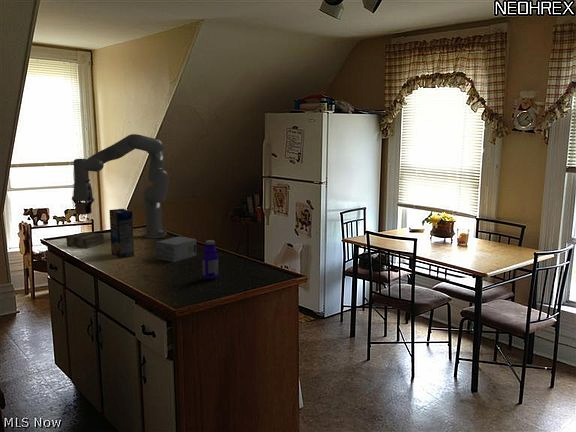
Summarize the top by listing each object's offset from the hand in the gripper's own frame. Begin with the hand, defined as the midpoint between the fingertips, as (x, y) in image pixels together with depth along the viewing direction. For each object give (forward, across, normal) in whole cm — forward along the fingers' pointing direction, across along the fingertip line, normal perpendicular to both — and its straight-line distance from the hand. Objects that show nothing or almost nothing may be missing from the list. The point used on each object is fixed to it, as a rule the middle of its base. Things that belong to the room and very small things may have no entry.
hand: (83, 212), depth 296 cm
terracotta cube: (+1, 0, 0) cm, 1 cm away
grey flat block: (+19, 0, 0) cm, 19 cm away
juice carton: (+19, -35, +11) cm, 41 cm away
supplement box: (+19, -63, +3) cm, 66 cm away
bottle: (+19, -99, +30) cm, 105 cm away
